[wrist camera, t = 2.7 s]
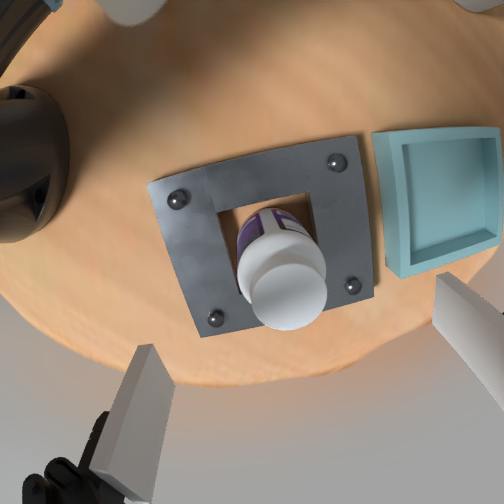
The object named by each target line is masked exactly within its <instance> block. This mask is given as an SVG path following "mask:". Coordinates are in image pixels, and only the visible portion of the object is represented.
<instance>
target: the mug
mask: <svg viewBox="0 0 504 504" xmlns="http://www.w3.org/2000/svg"><path fill="white" fill-rule="evenodd" d="M453 1H454V2H455V3H457V4H458V5H459V6H461V7H462V8H464V9H466V10H468V11H470V12H474V13H478V12H482V11H485V10H488V9H490V8H493V7H496V6H499V5H502V4H504V0H453Z"/></svg>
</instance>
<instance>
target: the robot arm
mask: <svg viewBox="0 0 504 504" xmlns="http://www.w3.org/2000/svg"><path fill="white" fill-rule="evenodd" d="M62 3H63V0H0V78H1V76H2V75H3V73H4V72H5V70H6V69H7V67H8V66H9V64H10V63H11V61H12V60H13V58H14V57H15V56H16V54H17V53H18V52H19V50H20V49H21V48H22V46H23V45H24V44H25V42H26V41H27V40H28V39H29V37H30V36H31V35H32V34H33V33H34V31H35V30H36V29H37V28H38V27H39V25H40V24H41V23H42V22H43V21H44V20H45V19H46V18H47V16H48V15H49V14H50V13H51V12H54V13H55V12H56V11H57V10H58V9H59V8H60V7H61V6H62ZM68 167H69V141H68V134H67V129H66V125H65V121H64V118H63V115H62V113H61V111H60V109H59V107H58V105H57V104H56V102H55V101H54V100H53V98H52V97H51V96H50V95H49V94H47V93H46V92H45V91H43V90H41V89H39V88H35V87H30V86H23V85H12V86H7V87H4V88H1V89H0V243H14V242H17V241H21V240H23V239H25V238H27V237H29V236H30V235H32V234H34V233H36V232H37V231H39V230H40V229H42V228H43V227H44V226H45V225H46V224H47V223H48V222H49V221H50V219H51V218H52V216H53V215H54V213H55V211H56V210H57V208H58V206H59V203H60V201H61V199H62V196H63V193H64V189H65V185H66V181H67V175H68ZM432 324H433V325H434V326H435V327H436V329H437V330H438V331H439V332H440V333H441V334H442V335H443V337H444V338H445V339H446V340H447V341H448V342H449V343H450V344H451V346H452V347H453V348H454V349H455V350H456V351H457V353H458V354H459V355H460V356H461V357H462V359H463V360H464V361H465V362H466V363H467V365H468V366H469V367H470V368H471V370H472V371H473V372H474V373H475V374H476V375H477V377H478V378H479V379H480V381H481V382H482V383H483V385H484V386H485V387H486V388H487V389H488V391H489V392H490V394H491V395H492V396H493V398H494V399H495V400H496V402H497V403H498V404H499V405H500V407H501V408H502V410H503V411H504V312H503V313H501V312H499V311H498V310H497V309H496V308H495V307H493V306H492V305H491V304H490V303H489V302H487V301H486V300H485V299H484V298H482V297H481V296H480V295H479V294H477V293H476V292H475V291H473V290H472V289H471V288H470V287H468V286H467V285H466V284H465V283H463V282H462V281H461V280H459V279H458V278H457V277H455V276H454V275H453V274H451V273H450V272H445V273H442V274H440V275H437V276H436V288H435V299H434V309H433V318H432ZM174 390H175V384H174V382H173V380H172V379H171V377H170V375H169V373H168V372H167V370H166V368H165V366H164V364H163V362H162V360H161V359H160V357H159V355H158V353H157V351H156V349H155V347H154V345H153V344H146V345H139V346H138V347H137V349H136V352H135V354H134V356H133V358H132V360H131V363H130V365H129V367H128V370H127V372H126V374H125V377H124V379H123V381H122V383H121V386H120V388H119V391H118V393H117V395H116V398H115V400H114V403H113V405H112V408H111V410H110V411H104V412H103V413H102V414H101V415H100V416H99V418H98V419H97V420H96V422H95V425H94V427H93V429H92V433H91V434H90V437H89V440H88V442H87V444H86V447H85V449H84V452H83V455H82V457H81V460H80V462H79V465H78V467H76V466H75V465H74V464H73V463H71V462H70V461H69V460H68V459H66V458H64V457H58V458H54V459H53V460H52V461H50V462H49V463H48V465H47V466H46V468H45V471H44V478H43V477H42V476H41V475H39V474H31V475H29V476H28V477H27V478H26V479H25V481H24V482H23V487H22V488H23V489H22V502H23V503H22V504H125V503H124V498H125V497H127V498H128V499H130V500H131V501H133V502H136V503H143V504H151V502H152V497H153V491H154V486H155V479H156V475H157V470H158V464H159V459H160V454H161V449H162V444H163V440H164V435H165V430H166V426H167V421H168V417H169V412H170V407H171V403H172V399H173V394H174ZM47 480H48V481H47Z"/></svg>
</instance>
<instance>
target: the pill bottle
mask: <svg viewBox="0 0 504 504" xmlns="http://www.w3.org/2000/svg"><path fill="white" fill-rule="evenodd" d="M237 277H238V283H239V286H240V289H241V292H242V293H243V295H244V297H245V298H246V299H247V301H248V302H249V303H250V304H251V305H252V309H253V311H254V313H255V315H256V317H257V318H258V319H259V320H260V321H261V322H262V323H263V324H265V325H266V326H268V327H270V328H273V329H277V330H294V329H298V328H301V327H304V326H306V325H308V324H309V323H311V322H312V321H313V320H315V319H316V318H317V317H318V316H319V315H320V313H321V312H322V310H323V309H324V306H325V304H326V300H327V287H326V283H325V279H326V263H325V260H324V257H323V254H322V252H321V251H320V249H319V247H318V246H317V244H316V243H315V242H314V240H313V239H312V238H311V237H310V235H309V234H308V233H307V231H306V230H305V229H304V227H303V226H302V225H301V224H300V222H299V221H298V220H297V219H296V218H295V217H294V216H293V215H292V214H290V213H289V212H287V211H285V210H282V209H277V208H266V209H262V210H259V211H257V212H255V213H253V214H252V215H250V216H249V217H248V218H247V219H246V220H245V221H244V223H243V224H242V226H241V228H240V230H239V233H238V240H237Z"/></svg>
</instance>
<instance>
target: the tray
mask: <svg viewBox="0 0 504 504" xmlns="http://www.w3.org/2000/svg"><path fill="white" fill-rule="evenodd" d="M371 136H372V141H373V147H374V153H375V159H376V165H377V172H378V179H379V187H380V195H381V205H382V215H383V226H384V240H385V260H386V266H387V267H388V268H389V269H390V270H391V271H392V272H393V273H394V274H396V275H397V276H398V277H399V278H400V279H403V278H406V277H409V276H412V275H416V274H419V273H422V272H425V271H428V270H431V269H434V268H437V267H440V266H442V265H445V264H448V263H451V262H454V261H457V260H459V259H462V258H465V257H468V256H470V255H473V254H476V253H478V252H481V251H484V250H486V249H489V248H491V247H494V246H496V245H499V244H501V243H502V232H503V216H504V172H503V155H502V144H501V135H500V127H487V126H457V127H434V128H418V129H406V130H395V131H385V132H376V133H371Z"/></svg>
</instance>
